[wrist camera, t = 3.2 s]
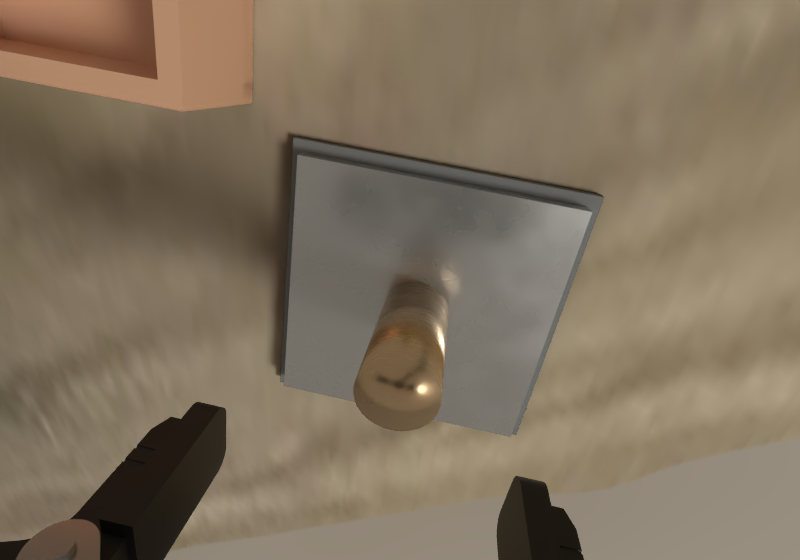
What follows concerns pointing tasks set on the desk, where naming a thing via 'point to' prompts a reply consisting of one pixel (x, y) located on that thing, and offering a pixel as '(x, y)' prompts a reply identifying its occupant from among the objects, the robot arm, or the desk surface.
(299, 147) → the mat
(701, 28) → the desk surface
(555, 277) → the lid
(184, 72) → the open box
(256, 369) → the desk surface
